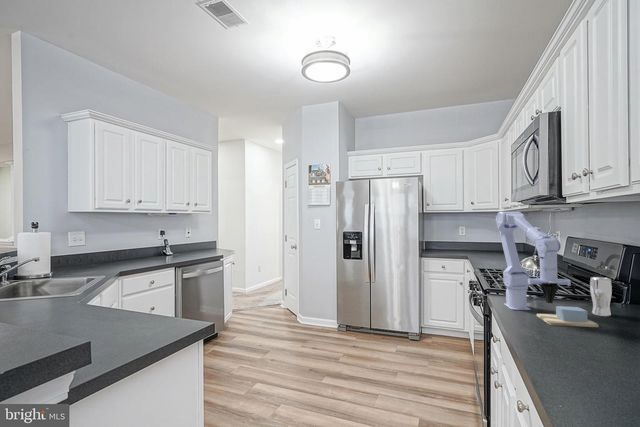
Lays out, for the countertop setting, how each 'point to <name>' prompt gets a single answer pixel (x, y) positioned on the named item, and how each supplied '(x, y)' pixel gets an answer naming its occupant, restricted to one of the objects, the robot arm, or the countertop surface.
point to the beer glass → (601, 295)
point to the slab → (571, 313)
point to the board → (556, 321)
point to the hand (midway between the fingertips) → (549, 302)
